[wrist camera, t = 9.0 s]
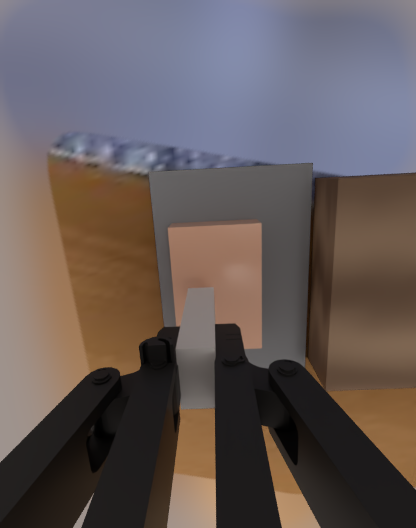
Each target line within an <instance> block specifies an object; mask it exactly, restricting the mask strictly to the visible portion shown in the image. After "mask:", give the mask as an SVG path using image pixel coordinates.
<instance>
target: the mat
mask: <svg viewBox="0 0 416 528" xmlns="http://www.w3.org/2000/svg"><path fill="white" fill-rule="evenodd" d="M312 171H313V163H301V164H283V165H265V166H247V167H229V168H211V169H193V170H175V171H157V172H149V182H150V192H151V202H152V212H153V221H154V231H155V241H156V251H157V261H158V271H159V280H160V290H161V300H162V310H163V320H164V327H176V317H175V305H174V294H173V282H172V271H171V259H170V248H169V237H168V227H169V226H170V225H171V223H187V222H208V221H228V220H248V219H257V220H259V221H260V222H261V223H262V348H258V349H244V350H245V355H246V357H247V358H248V360H249V362H250V363H251V364H253V365H255V366H258V367H262V368H269V365H270V364H271V363H272V362H274V361H276V360H282V359H288V360H293V361H295V362H298V363H300V364H301V365H302V366H303V367H304V368H305V352H306V326H307V301H308V275H309V249H310V223H311V197H312Z"/></svg>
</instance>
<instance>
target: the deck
mask: <svg viewBox="0 0 416 528" xmlns="http://www.w3.org/2000/svg"><path fill="white" fill-rule="evenodd" d="M308 359H309V361H310V363H311V365H312V367H313V368H314V370H315V372H316V374H317V376H318V378H319V380H320V382H321V383H322V385H323V387H324V389H325V391H343V390H369V389H396V388H416V173H401V174H383V175H364V176H346V177H328V178H315V196H314V221H313V245H312V269H311V293H310V318H309V342H308Z"/></svg>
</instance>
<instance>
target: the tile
mask: <svg viewBox="0 0 416 528" xmlns="http://www.w3.org/2000/svg"><path fill="white" fill-rule="evenodd" d="M168 237H169V248H170V259H171V271H172V282H173V294H174V305H175V317H176V327H177V326H180V325H181V320H182V315H183V311H184V306H185V301H186V296H187V291H188V288H205V287H214V302H215V321H216V324H228V323H235V324H236V325H238V326H239V327H240V329H241V335H242V340H243V345H244V349H258V348H262V223H261V222H260V221H259V220H257V219H248V220H228V221H208V222H187V223H171V225H170V226H169V227H168Z"/></svg>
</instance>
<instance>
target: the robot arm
mask: <svg viewBox="0 0 416 528" xmlns="http://www.w3.org/2000/svg"><path fill="white" fill-rule="evenodd" d="M139 351H140V359H141V367H140V370H139V371H137V372H134V373H131V374H127V375H123V376H120V372H119V371H118V370H117V369H115V368H112V367H108V368H100V369H97V370H95V371H93V372H91V373H90V374H88V375H87V376H86V377H85V378H84V379H83V380H82V381H81V382H80V383H79V384H78V385H77V386H76V387H75V388H74V389H73V390H72V391H71V392H70V393H69V394H68V395H67V396H66V397H65V398H64V399H63V400H62V401H61V402H60V403H59V404H58V405H57V406H56V407H55V408H54V409H53V410H52V411H51V412H50V413H49V414H48V415H47V416H46V417H45V418H44V419H43V420H42V421H41V422H40V423H39V424H38V425H37V426H36V427H35V428H34V429H33V430H32V431H31V432H30V433H29V434H28V435H27V436H26V437H25V438H24V439H23V440H22V441H21V442H20V444H19V445H17V446H16V447H15V448H14V449H13V450H12V451H11V452H10V453H9V454H8V455H7V457H5V458H4V459H3V460H2V461H1V462H0V528H73V526H74V525H75V523H76V521H77V520H78V518H79V516H80V515H81V513H82V512H83V510H84V508H85V507H86V505H87V503H88V501H89V500H90V498H91V497H92V495H93V493H94V495H93V497H92V500H91V503H90V506H89V509H88V511H87V514H86V517H85V519H84V522H83V525H82V527H81V528H167V521H168V513H169V505H170V497H171V489H172V480H173V473H174V465H175V457H176V449H177V441H178V433H179V425H180V412H179V406H180V403H181V409H203V408H215V454H216V528H282V527H281V522H280V517H279V512H278V507H277V502H276V497H275V492H274V486H273V481H272V476H271V471H270V466H269V461H268V456H267V451H266V446H265V441H264V436H263V431H262V426H261V425H263V426H268V428H269V432H270V434H271V436H272V438H273V440H274V441H275V443H276V445H277V447H278V449H279V451H280V453H281V454H282V456H283V458H284V460H285V462H286V464H287V466H288V468H289V469H290V471H291V473H292V475H293V477H294V479H295V481H296V482H297V484H298V486H299V488H300V490H301V492H302V494H303V496H304V497H305V499H306V501H307V503H308V505H309V507H310V509H311V510H312V512H313V514H314V516H315V518H316V520H317V522H318V523H319V525H320V527H321V528H416V490H415V489H414V488H413V486H412V485H411V484H410V483H409V482H408V481H407V480H406V479H405V478H404V477H403V475H402V474H401V473H400V472H399V471H398V470H397V469H396V468H395V467H394V466H393V464H392V463H391V462H390V461H389V460H388V459H387V458H386V457H385V456H384V455H383V453H382V452H381V451H380V450H379V449H378V448H377V447H376V446H375V445H374V444H373V442H372V441H371V440H370V439H369V438H368V437H367V436H366V435H365V434H364V433H363V431H362V430H361V429H360V428H359V427H358V426H357V425H356V424H355V423H354V422H353V420H352V419H351V418H350V417H349V416H348V415H347V414H346V413H345V412H344V411H343V409H342V408H341V407H340V406H339V405H338V404H337V403H336V402H335V401H334V400H333V398H332V397H331V396H330V395H329V394H328V393H327V392H326V391H325V390H324V389H323V387H322V386H321V385H320V384H319V383H318V382H317V381H316V380H315V379H314V378H313V376H312V375H311V374H310V373H309V372H308V371H307V370H306V369H305V368H304V367H303V366H302V365H301V364H300V363H298V362H295V361H293V360H288V359H282V360H276V361H274V362H272V363H271V364H270V365H269V368H262V367H258V366H255V365H253V364H251V363H250V362H249V360H248V358H247V357H246V355H245V350H244V345H243V340H242V335H241V329H240V327H239V326H238V325H236V324H235V323H228V324H216V321H215V302H214V287H205V288H188V291H187V296H186V301H185V306H184V311H183V315H182V320H181V325H180V326H177V327H164V328H162V329H161V330H160V331H159V332H158V334H157V337H152V338H149V339H146V340H145V341H143V342H142V343H141V344H140V345H139Z"/></svg>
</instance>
